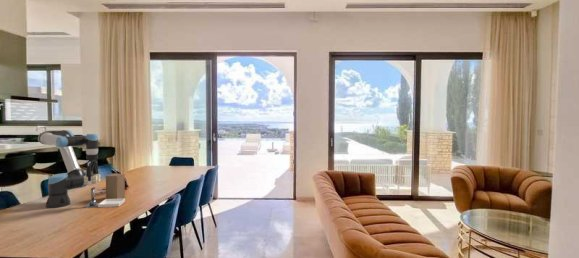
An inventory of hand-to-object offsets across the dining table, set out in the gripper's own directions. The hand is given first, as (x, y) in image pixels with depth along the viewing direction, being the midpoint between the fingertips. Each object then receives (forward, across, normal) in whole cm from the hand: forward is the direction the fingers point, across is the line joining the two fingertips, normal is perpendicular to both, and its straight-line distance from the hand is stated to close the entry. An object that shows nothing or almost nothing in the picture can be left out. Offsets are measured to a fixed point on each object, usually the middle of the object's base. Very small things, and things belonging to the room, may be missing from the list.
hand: (92, 183), depth 233 cm
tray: (+17, +2, -13) cm, 21 cm away
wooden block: (+17, +19, -10) cm, 28 cm away
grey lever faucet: (+17, 0, 0) cm, 17 cm away
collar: (-1, 0, 0) cm, 1 cm away
